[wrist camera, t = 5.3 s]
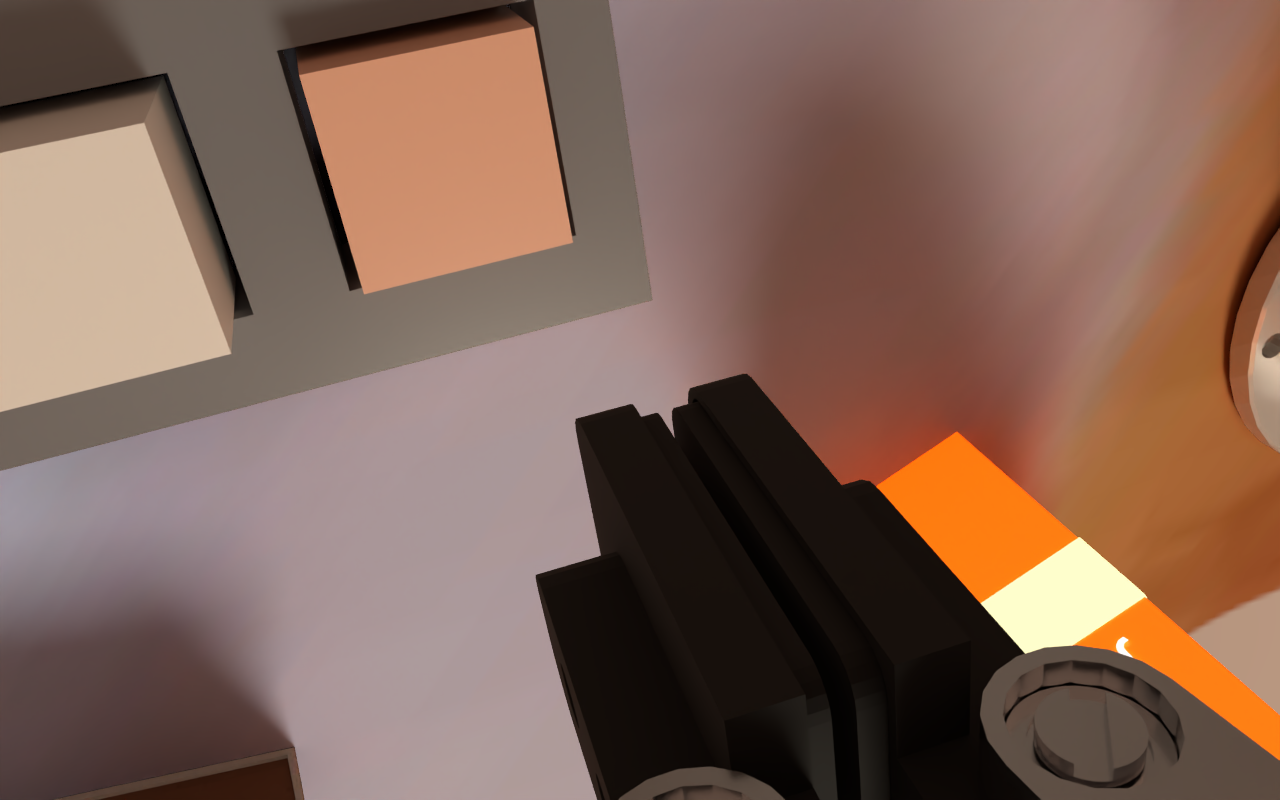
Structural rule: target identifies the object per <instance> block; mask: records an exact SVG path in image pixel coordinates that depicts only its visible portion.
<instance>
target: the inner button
mask: <svg viewBox="0 0 1280 800" xmlns="http://www.w3.org/2000/svg"><path fill="white" fill-rule="evenodd" d="M295 48H296V56H297V63H298V71H299V76H300V80H301V83H302V87H303V90H304V93H305V97H306V100H307V103H308V107H309V110H310V114H311V117H312V120H313V124H314V127H315V130H316V134H317V137H318V141H319V144H320V147H321V151H322V154H323V157H324V161H325V164H326V168H327V171H328V174H329V178H330V181H331V184H332V188H333V191H334V195H335V198H336V201H337V205H338V208H339V211H340V215H341V218H342V222H343V225H344V228H345V232H346V235H347V238H348V242H349V245H350V249H351V252H352V255H353V259H354V262H355V265H356V269H357V272H358V276H359V279H360V282H361V286H362V289H363V292H364V294H368V293H372V292H376V291H380V290H384V289H388V288H392V287H396V286H400V285H404V284H408V283H412V282H416V281H420V280H424V279H428V278H432V277H436V276H440V275H444V274H448V273H453V272H457V271H461V270H465V269H469V268H473V267H477V266H481V265H485V264H489V263H493V262H497V261H501V260H505V259H509V258H513V257H517V256H521V255H525V254H529V253H533V252H537V251H542V250H546V249H550V248H554V247H558V246H562V245H566V244H570V243H573V240H572V234H571V229H570V223H569V218H568V212H567V207H566V201H565V196H564V191H563V185H562V180H561V174H560V169H559V163H558V158H557V152H556V147H555V141H554V136H553V130H552V125H551V119H550V114H549V108H548V103H547V97H546V92H545V86H544V81H543V76H542V70H541V65H540V59H539V54H538V48H537V43H536V37H535V32H534V27H533V26H532V25H531V24H529V23H528V22H527V21H525V20H524V19H523V18H521V17H520V16H519V15H517V14H516V13H515V12H513V11H512V10H511V9H509V8H508V7H507V6H506V5H501V6H496V7H491V8H486V9H481V10H476V11H471V12H466V13H461V14H456V15H451V16H447V17H442V18H437V19H432V20H427V21H422V22H417V23H412V24H407V25H402V26H397V27H392V28H387V29H382V30H377V31H372V32H367V33H362V34H357V35H352V36H347V37H342V38H337V39H332V40H327V41H322V42H317V43H312V44H307V45H302V46H298V47H295Z"/></svg>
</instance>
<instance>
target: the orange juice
mask: <svg viewBox="0 0 1280 800" xmlns="http://www.w3.org/2000/svg"><path fill="white" fill-rule="evenodd" d="M876 487H877V488H878V489H879V490H880V491H881V492H882V493H883V494H884V495H885V496H886V497H887V499H888V500H889V501H890V502H891V503H892V504H893V505H894V506H895V508H896V509H897V510H898V511H899V512H900V513H901V514H902V515H903V517H904V518H905V519H906V520H907V521H908V522H909V523H910V524H911V526H912V527H913V528H914V529H915V530H916V531H917V532H918V533H919V535H920V536H921V537H922V538H923V539H924V540H925V541H926V542H927V544H928V545H929V546H930V547H931V548H932V549H933V550H934V551H935V553H936V554H937V555H938V556H939V557H940V558H941V559H942V560H943V562H944V563H945V564H946V565H947V566H948V567H949V568H950V569H951V571H952V572H953V573H954V574H955V575H956V576H957V577H958V578H959V580H960V581H961V582H962V583H963V584H964V585H965V586H966V587H967V589H968V590H969V591H970V592H971V593H972V594H973V595H974V596H975V598H976V599H977V600H978V601H979V602H980V603H981V604H982V605H983V607H984V608H985V609H986V610H987V611H988V612H989V613H990V614H991V616H992V617H993V618H994V619H995V620H996V621H997V622H998V623H999V625H1000V626H1001V627H1002V628H1003V629H1004V630H1005V631H1006V632H1007V634H1008V635H1009V636H1010V637H1011V638H1012V639H1013V640H1014V641H1015V643H1016V644H1017V645H1018V646H1019V647H1020V648H1021V649H1022V650H1023V652H1024V653H1025V654H1026V653H1029V652H1032V651H1035V650H1038V649H1041V648H1044V647H1058V646H1072V645H1078V646H1086V647H1093V648H1101V649H1108V650H1112V651H1115V652H1118V653H1121V654H1123V655H1126V656H1129V657H1132V658H1135V659H1138V660H1141V661H1143V662H1145V663H1146V664H1148V665H1150V666H1152V667H1153V668H1155V669H1157V670H1158V671H1160V672H1162V673H1163V674H1165V675H1167V676H1168V677H1170V678H1172V679H1173V680H1174V681H1176V682H1177V683H1178V684H1180V685H1181V686H1182V687H1183V688H1185V689H1186V690H1187V691H1189V692H1190V693H1191V694H1193V695H1194V696H1195V697H1197V698H1198V699H1199V700H1201V701H1202V702H1203V703H1205V704H1206V705H1207V706H1209V707H1210V708H1211V709H1212V710H1214V711H1215V712H1216V713H1218V714H1219V715H1220V716H1222V717H1223V718H1224V719H1226V720H1227V721H1228V722H1230V723H1231V724H1232V725H1234V726H1235V727H1236V728H1238V729H1239V730H1240V731H1242V732H1243V733H1244V734H1245V735H1247V736H1248V737H1249V738H1251V739H1252V740H1253V741H1255V742H1256V743H1257V744H1259V745H1260V746H1261V747H1263V748H1264V749H1265V750H1267V751H1268V752H1269V753H1271V754H1272V755H1273V756H1274V757H1276V758H1277V759H1278V760H1280V715H1278V713H1276V712H1275V711H1274V710H1273V709H1272V708H1271V707H1270V706H1268V705H1267V704H1266V703H1265V702H1264V701H1263V700H1262V699H1260V698H1259V697H1258V696H1257V695H1256V694H1255V693H1254V692H1252V691H1251V690H1250V689H1249V688H1248V687H1247V686H1246V685H1244V684H1243V683H1242V682H1241V681H1240V680H1239V679H1238V678H1237V677H1235V676H1234V675H1233V674H1232V673H1231V672H1230V671H1229V670H1227V669H1226V668H1225V667H1224V666H1223V665H1222V664H1221V663H1220V662H1218V661H1217V660H1216V659H1215V658H1214V657H1213V656H1212V655H1210V654H1209V653H1208V652H1207V651H1206V650H1205V649H1203V648H1202V647H1201V646H1200V645H1199V644H1198V643H1197V642H1196V641H1194V640H1193V639H1192V638H1191V637H1190V636H1189V635H1188V634H1187V633H1185V632H1184V631H1183V630H1182V629H1181V628H1180V627H1179V626H1177V625H1176V624H1175V623H1174V622H1173V621H1172V620H1171V619H1169V618H1168V617H1167V616H1166V615H1165V614H1164V613H1163V612H1162V611H1160V610H1159V609H1158V608H1157V607H1156V606H1155V605H1154V604H1152V603H1151V602H1150V601H1149V600H1148V599H1147V597H1146V595H1145V594H1144V593H1143V592H1142V591H1141V590H1139V589H1138V588H1137V587H1136V586H1135V585H1134V584H1133V583H1131V582H1130V581H1129V580H1128V579H1127V578H1126V577H1125V576H1123V575H1122V574H1121V573H1120V572H1119V571H1118V570H1117V569H1115V568H1114V567H1113V566H1112V565H1111V564H1110V563H1109V562H1107V561H1106V560H1105V559H1104V558H1103V557H1102V556H1101V555H1099V554H1098V553H1097V552H1096V551H1095V550H1094V549H1093V548H1091V547H1090V546H1089V545H1088V544H1087V543H1086V542H1085V541H1083V540H1082V539H1081V538H1080V537H1079V538H1077V537H1076V536H1075V535H1074V534H1073V533H1072V532H1071V531H1069V530H1068V529H1067V528H1066V527H1065V526H1064V525H1063V524H1061V523H1060V522H1059V521H1058V520H1057V519H1056V518H1055V517H1053V516H1052V515H1051V514H1050V513H1049V512H1048V511H1047V510H1045V509H1044V508H1043V507H1042V506H1041V505H1040V504H1039V503H1038V502H1036V501H1035V500H1034V499H1033V498H1032V497H1031V496H1030V495H1028V494H1027V493H1026V492H1025V491H1024V490H1023V489H1022V488H1020V487H1019V486H1018V485H1017V484H1016V483H1015V482H1014V481H1012V480H1011V479H1010V478H1009V477H1008V476H1007V475H1006V474H1005V473H1003V472H1002V471H1001V470H1000V469H999V468H998V467H997V466H995V465H994V464H993V463H992V462H991V461H990V460H989V459H987V458H986V457H985V456H984V455H983V454H982V453H981V452H979V451H978V450H977V449H976V448H975V447H974V446H973V445H972V444H970V443H969V442H968V441H967V440H966V439H965V438H964V437H962V436H961V435H960V434H959V433H958V432H956V433H954V434H953V435H951V436H950V437H948V438H947V439H945V440H944V441H942V442H941V443H939V444H938V445H937V446H935V447H934V448H932V449H931V450H929V451H928V452H926V453H925V454H923V455H922V456H920V457H919V458H917V459H916V460H914V461H913V462H911V463H910V464H908V465H907V466H905V467H904V468H902V469H901V470H899V471H898V472H896V473H895V474H894V475H892V476H891V477H889V478H888V479H886V480H885V481H883V482H882V483H880V484H879V485H877V486H876Z"/></svg>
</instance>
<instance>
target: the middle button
mask: <svg viewBox="0 0 1280 800" xmlns="http://www.w3.org/2000/svg"><path fill="white" fill-rule="evenodd" d="M235 287H236V276H235V273H234V271H233V268H232V265H231V262H230V259H229V257H228V254H227V251H226V248H225V246H224V243H223V240H222V237H221V234H220V232H219V229H218V226H217V223H216V221H215V218H214V215H213V212H212V209H211V207H210V204H209V201H208V198H207V196H206V193H205V190H204V187H203V184H202V182H201V179H200V176H199V173H198V171H197V168H196V165H195V162H194V159H193V157H192V154H191V151H190V148H189V146H188V143H187V140H186V137H185V134H184V132H183V129H182V126H181V123H180V121H179V118H178V115H177V112H176V109H175V107H174V104H173V101H172V98H171V96H170V93H169V90H168V87H167V84H166V82H165V79H164V76H163V75H162V76H157V77H152V78H147V79H142V80H137V81H132V82H128V83H123V84H118V85H113V86H108V87H103V88H98V89H93V90H88V91H83V92H78V93H73V94H68V95H63V96H58V97H53V98H48V99H43V100H38V101H33V102H28V103H23V104H18V105H13V106H8V107H4V108H0V412H2V411H6V410H10V409H14V408H18V407H22V406H26V405H30V404H34V403H38V402H42V401H46V400H50V399H54V398H58V397H62V396H66V395H70V394H74V393H78V392H82V391H86V390H90V389H94V388H98V387H101V386H105V385H109V384H113V383H117V382H121V381H125V380H129V379H133V378H137V377H141V376H145V375H149V374H153V373H157V372H161V371H165V370H169V369H173V368H177V367H181V366H185V365H189V364H193V363H197V362H201V361H205V360H209V359H213V358H217V357H221V356H225V355H229V354H231V350H232V334H233V318H234V302H235Z"/></svg>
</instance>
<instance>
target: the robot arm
mask: <svg viewBox="0 0 1280 800" xmlns="http://www.w3.org/2000/svg"><path fill="white" fill-rule="evenodd" d="M1230 384H1231V389H1232V394H1233V399H1234V404H1235V406H1236V408H1237V410H1238V412H1239V414H1240V416H1241V418H1242V420H1243V422H1244V424H1245V426H1246V427H1247V428H1248V429H1249V430H1250V431H1251V432H1252V433H1253V434H1254V435H1255V436H1256V437H1257V439H1258V440H1259V441H1261V442H1262V443H1264V444H1266V445H1267V446H1269V447H1271V448H1272V449H1274V450H1275V451H1277V452H1278V453H1280V228H1279V229H1278V231H1277V232H1276V234H1275V235H1274V237H1273V238H1272V239H1271V241H1270V242H1269V244H1268V245H1267V247H1266V249H1265V251H1264V253H1263V255H1262V257H1261V259H1260V261H1259V263H1258V265H1257V266H1256V268H1255V270H1254V272H1253V274H1252V276H1251V278H1250V280H1249V283H1248V285H1247V288H1246V291H1245V294H1244V296H1243V299H1242V302H1241V305H1240V307H1239V310H1238V313H1237V317H1236V322H1235V327H1234V332H1233V337H1232V342H1231V347H1230ZM672 421H673V429H674V436H675V438H674V437H673V435H672V433H671V432H670V430H669V429H668V427H667V425H666V424H665V422H664V421H663V419H662V417H661V416H660V415H659V414H658V413H654V414H650V415H647V416H643V417H641V416H640V414H639V413H638V411H637V409H636V408H635V407H634V405H633V404H629V405H626V406H622V407H618V408H614V409H611V410H607V411H603V412H600V413H596V414H592V415H588V416H585V417H581V418H577V419H576V422H575V424H576V433H577V438H578V444H579V449H580V454H581V459H582V464H583V469H584V473H585V478H586V483H587V488H588V493H589V498H590V503H591V508H592V513H593V518H594V523H595V528H596V533H597V538H598V543H599V548H600V553H601V556H599V557H595V558H592V559H589V560H585V561H582V562H578V563H575V564H571V565H568V566H565V567H561V568H558V569H554V570H551V571H548V572H544V573H541V574H537V575H536V582H537V587H538V591H539V595H540V600H541V604H542V608H543V612H544V616H545V620H546V624H547V629H548V633H549V637H550V641H551V645H552V649H553V653H554V656H555V660H556V664H557V668H558V671H559V675H560V679H561V682H562V686H563V689H564V693H565V696H566V700H567V703H568V707H569V710H570V714H571V717H572V720H573V724H574V727H575V730H576V733H577V736H578V740H579V743H580V746H581V749H582V752H583V756H584V759H585V762H586V765H587V768H588V772H589V775H590V778H591V781H592V784H593V788H594V791H595V794H596V797H597V800H1280V760H1278V759H1277V758H1276V757H1274V756H1273V755H1272V754H1271V753H1269V752H1268V751H1267V750H1265V749H1264V748H1263V747H1261V746H1260V745H1259V744H1257V743H1256V742H1255V741H1253V740H1252V739H1251V738H1249V737H1248V736H1247V735H1245V734H1244V733H1243V732H1242V731H1240V730H1239V729H1238V728H1236V727H1235V726H1234V725H1232V724H1231V723H1230V722H1228V721H1227V720H1226V719H1224V718H1223V717H1222V716H1220V715H1219V714H1218V713H1216V712H1215V711H1214V710H1212V709H1211V708H1210V707H1209V706H1207V705H1206V704H1205V703H1203V702H1202V701H1201V700H1199V699H1198V698H1197V697H1195V696H1194V695H1193V694H1191V693H1190V692H1189V691H1187V690H1186V689H1185V688H1183V687H1182V686H1181V685H1180V684H1178V683H1177V682H1176V681H1174V680H1173V679H1172V678H1170V677H1168V676H1167V675H1165V674H1163V673H1162V672H1160V671H1158V670H1157V669H1155V668H1153V667H1152V666H1150V665H1148V664H1146V663H1145V662H1143V661H1141V660H1138V659H1135V658H1132V657H1129V656H1126V655H1123V654H1121V653H1118V652H1115V651H1112V650H1108V649H1101V648H1093V647H1086V646H1078V645H1072V646H1058V647H1044V648H1041V649H1038V650H1035V651H1032V652H1029V653H1026V654H1025V653H1024V652H1023V650H1022V649H1021V648H1020V647H1019V646H1018V645H1017V644H1016V643H1015V641H1014V640H1013V639H1012V638H1011V637H1010V636H1009V635H1008V634H1007V632H1006V631H1005V630H1004V629H1003V628H1002V627H1001V626H1000V625H999V623H998V622H997V621H996V620H995V619H994V618H993V617H992V616H991V614H990V613H989V612H988V611H987V610H986V609H985V608H984V607H983V605H982V604H981V603H980V602H979V601H978V600H977V599H976V598H975V596H974V595H973V594H972V593H971V592H970V591H969V590H968V589H967V587H966V586H965V585H964V584H963V583H962V582H961V581H960V580H959V578H958V577H957V576H956V575H955V574H954V573H953V572H952V571H951V569H950V568H949V567H948V566H947V565H946V564H945V563H944V562H943V560H942V559H941V558H940V557H939V556H938V555H937V554H936V553H935V551H934V550H933V549H932V548H931V547H930V546H929V545H928V544H927V542H926V541H925V540H924V539H923V538H922V537H921V536H920V535H919V533H918V532H917V531H916V530H915V529H914V528H913V527H912V526H911V524H910V523H909V522H908V521H907V520H906V519H905V518H904V517H903V515H902V514H901V513H900V512H899V511H898V510H897V509H896V508H895V506H894V505H893V504H892V503H891V502H890V501H889V500H888V499H887V497H886V496H885V495H884V494H883V493H882V492H881V491H880V490H879V489H878V488H877V487H876V486H875V485H873V484H872V483H871V482H870V481H866V480H858V481H855V482H852V483H848V484H845V485H841V484H840V483H839V482H838V481H837V479H836V478H835V477H834V476H833V475H832V473H831V472H830V471H829V470H828V469H827V467H826V466H825V465H824V464H823V463H822V461H821V460H820V459H819V458H818V457H817V455H816V454H815V453H814V452H813V451H812V450H811V448H810V447H809V446H808V445H807V444H806V442H805V441H804V440H803V439H802V438H801V436H800V435H799V434H798V433H797V432H796V430H795V429H794V428H793V427H792V426H791V424H790V423H789V422H788V421H787V420H786V418H785V417H784V416H783V415H782V414H781V412H780V411H779V410H778V409H777V408H776V406H775V405H774V404H773V403H772V402H771V401H770V399H769V398H768V397H767V396H766V395H765V393H764V392H763V391H762V390H761V389H760V387H759V386H758V385H757V384H756V383H755V381H754V380H753V379H752V378H751V377H750V376H749V375H748V374H741V375H737V376H733V377H730V378H726V379H722V380H719V381H715V382H711V383H707V384H704V385H700V386H696V387H693V388H690V390H689V393H688V404H687V405H684V406H680V407H676V408H673V411H672Z"/></svg>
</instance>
